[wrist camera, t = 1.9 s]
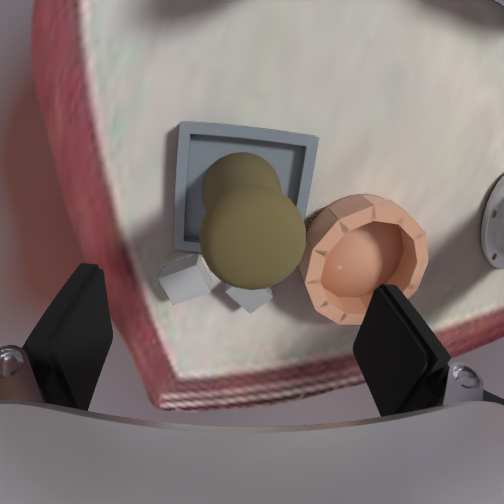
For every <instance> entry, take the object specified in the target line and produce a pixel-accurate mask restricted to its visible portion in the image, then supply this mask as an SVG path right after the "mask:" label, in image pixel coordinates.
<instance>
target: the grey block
mask: <svg viewBox="0 0 504 504" xmlns="http://www.w3.org/2000/svg"><path fill="white" fill-rule="evenodd" d="M225 292H226V293H227V294H228V295H229V296H230V297H231V298H233V299H234V300H235V301H236V302H237V303H238V304H239V305H241V306H242V307H243V308H244V309H245V310H246V311H248V312H249V313H250V314H251V313H252V312H254V311H255V310H256V309H258V308H259V307H260V306H262V305H263V304H264V303H266V302H267V301H268V300H270V299H271V298H272V297H273V295H272V290H271V287H268V288H266V289H257V290H247V289H242V288H236V287H233V286H231V285H229V284H227V283H225Z"/></svg>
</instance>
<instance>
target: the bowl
mask: <svg viewBox="0 0 504 504" xmlns="http://www.w3.org/2000/svg"><path fill="white" fill-rule="evenodd" d="M428 260H429V259H428V250H427V242H426V235H425V231H424V230H423V229H422V228H421V227H420V226H419V224H418V223H417V222H416V221H415V220H414V219H413V218H412V217H411V216H410V215H409V214H408V213H407V211H405V210H404V209H403V208H401V207H400V206H398V205H397V204H396V203H394V202H393V201H391V200H387V199H384V198H382V197H379V196H375V195H369V194H357V195H351V196H347V197H344V198H341V199H339V200H337V201H335V202H333V203H332V204H330V205H329V206H327V207H326V208H325V209H323V210H322V211H321V212H320V213H319V214H318V215H317V216H316V217H315V218H314V219H313V221H312V222H311V223H310V225H309V226H308V228H307V230H306V248H305V251H304V254H303V257H302V260H301V262H300V263H299V269H300V272H301V274H302V277H303V280H304V282H305V285H306V288H307V290H308V293H309V295H310V298H311V300H312V303H313V305H314V308H315V310H316V311H317V312H319V313H321V314H322V315H324V316H325V317H327V318H329V319H330V320H332V321H334V322H335V323H337V324H339V325H361V324H362V322H363V319H364V316H365V314H366V311H367V308H368V306H369V303H370V300H371V297H372V295H373V292H374V290H375V289H376V288H378V287H379V286H380V285H381V284H393V285H396V286H397V287H398V288H399V289H400V290H401V291H402V293H403V294H404V295H405V296H406V298H407V299H409V298H410V297H411V296H412V295H413V294H414V293H415V292H416V291H417V290H418V288H419V285H420V282H421V280H422V277H423V275H424V272H425V269H426V267H427V264H428Z"/></svg>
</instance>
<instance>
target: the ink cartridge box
mask: <svg viewBox="0 0 504 504" xmlns="http://www.w3.org/2000/svg"><path fill="white" fill-rule="evenodd" d="M495 1H496V2H498V3H500V4H501V5H503V6H504V0H495Z"/></svg>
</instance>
